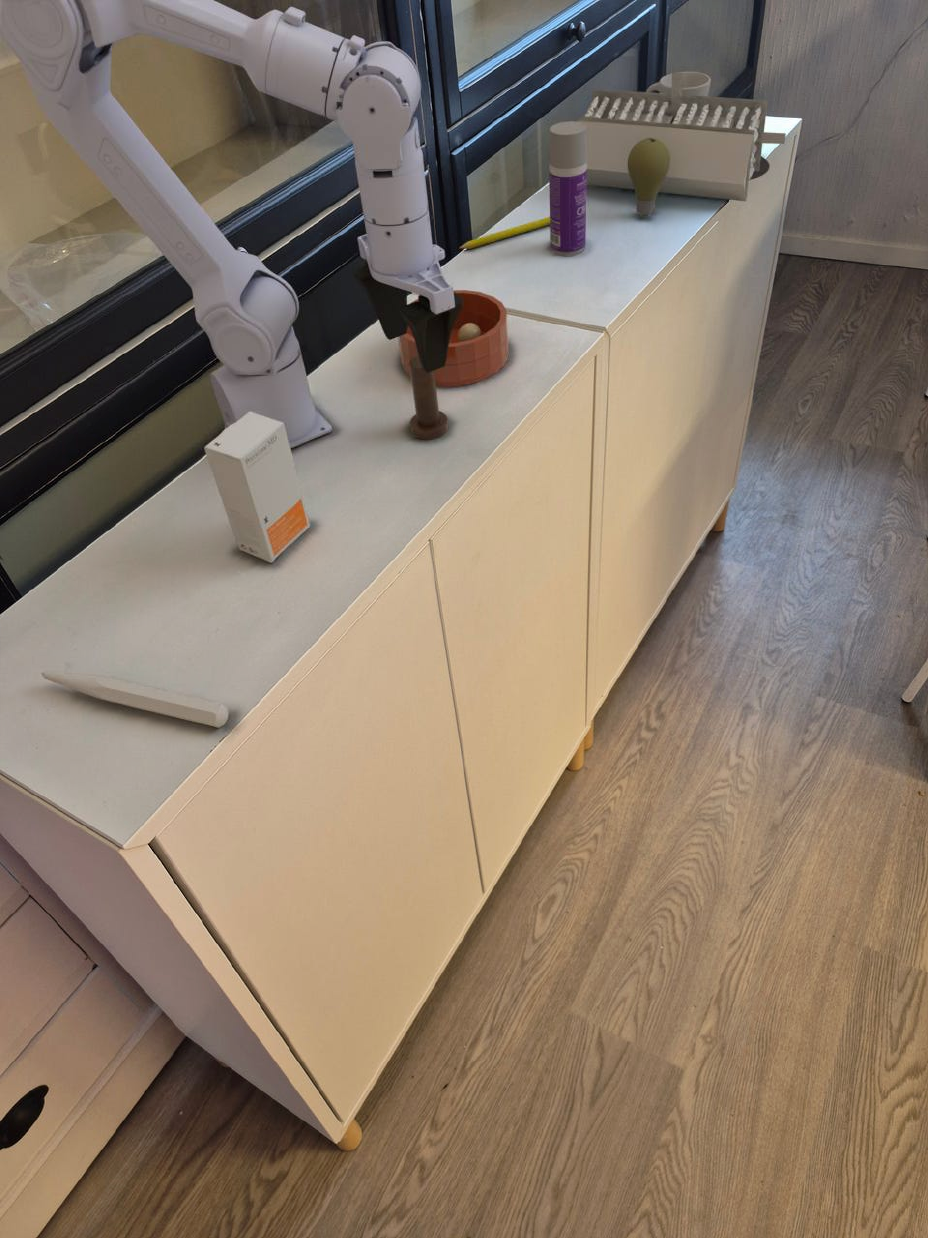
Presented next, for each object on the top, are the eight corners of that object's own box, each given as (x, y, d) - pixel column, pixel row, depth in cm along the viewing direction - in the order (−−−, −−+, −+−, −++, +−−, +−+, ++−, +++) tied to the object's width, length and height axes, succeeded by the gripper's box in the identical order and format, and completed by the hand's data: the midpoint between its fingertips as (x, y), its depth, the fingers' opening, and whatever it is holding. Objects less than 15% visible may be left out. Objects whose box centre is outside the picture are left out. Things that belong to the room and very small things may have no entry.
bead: (464, 344, 102) (466, 357, 105) (486, 333, 102) (486, 345, 105) (452, 325, 103) (454, 338, 105) (474, 314, 103) (475, 327, 105)
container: (583, 256, 119) (585, 134, 108) (548, 255, 120) (546, 135, 109) (587, 240, 122) (589, 120, 111) (552, 239, 123) (551, 120, 112)
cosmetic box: (272, 565, 83) (238, 460, 74) (238, 550, 85) (200, 446, 76) (313, 525, 86) (285, 421, 77) (279, 512, 88) (248, 408, 79)
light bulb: (672, 210, 126) (678, 134, 118) (655, 227, 123) (661, 149, 115) (635, 204, 128) (639, 128, 121) (618, 220, 125) (621, 144, 118)
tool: (48, 659, 75) (48, 682, 75) (33, 664, 73) (32, 687, 74) (233, 702, 71) (231, 726, 71) (221, 708, 69) (219, 732, 69)
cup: (698, 150, 139) (704, 89, 132) (635, 146, 142) (638, 86, 136) (709, 132, 143) (716, 72, 137) (647, 128, 146) (651, 69, 140)
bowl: (436, 399, 99) (431, 359, 95) (383, 352, 106) (376, 313, 103) (529, 360, 103) (528, 320, 99) (471, 318, 110) (468, 279, 106)
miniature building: (780, 172, 127) (762, 220, 124) (595, 154, 136) (573, 198, 132) (793, 79, 116) (774, 129, 112) (590, 67, 125) (566, 112, 121)
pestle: (428, 444, 93) (418, 377, 88) (403, 429, 95) (392, 363, 90) (456, 426, 95) (448, 359, 89) (430, 412, 97) (422, 346, 91)
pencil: (565, 221, 127) (561, 215, 127) (566, 216, 126) (563, 210, 126) (459, 253, 123) (456, 247, 123) (460, 248, 122) (457, 242, 122)
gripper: (479, 225, 75) (489, 368, 85) (396, 174, 84) (414, 309, 94) (405, 251, 73) (425, 395, 83) (328, 196, 82) (354, 332, 92)
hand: (415, 351), depth 88 cm, fingers open, 7 cm apart
